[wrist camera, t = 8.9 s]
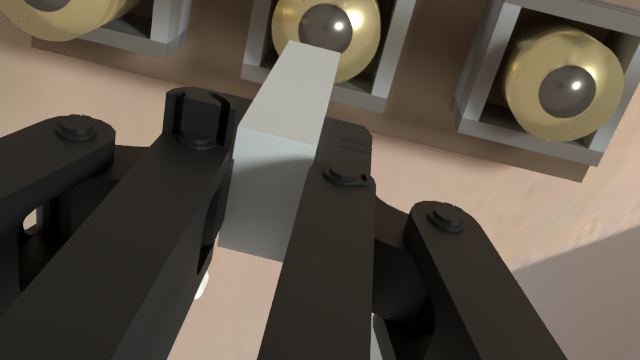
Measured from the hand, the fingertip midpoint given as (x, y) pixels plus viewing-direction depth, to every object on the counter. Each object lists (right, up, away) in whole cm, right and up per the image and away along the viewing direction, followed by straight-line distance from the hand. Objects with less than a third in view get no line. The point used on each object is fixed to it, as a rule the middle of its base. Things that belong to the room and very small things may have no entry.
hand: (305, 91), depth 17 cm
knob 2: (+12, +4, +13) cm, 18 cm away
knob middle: (+1, +6, +13) cm, 15 cm away
